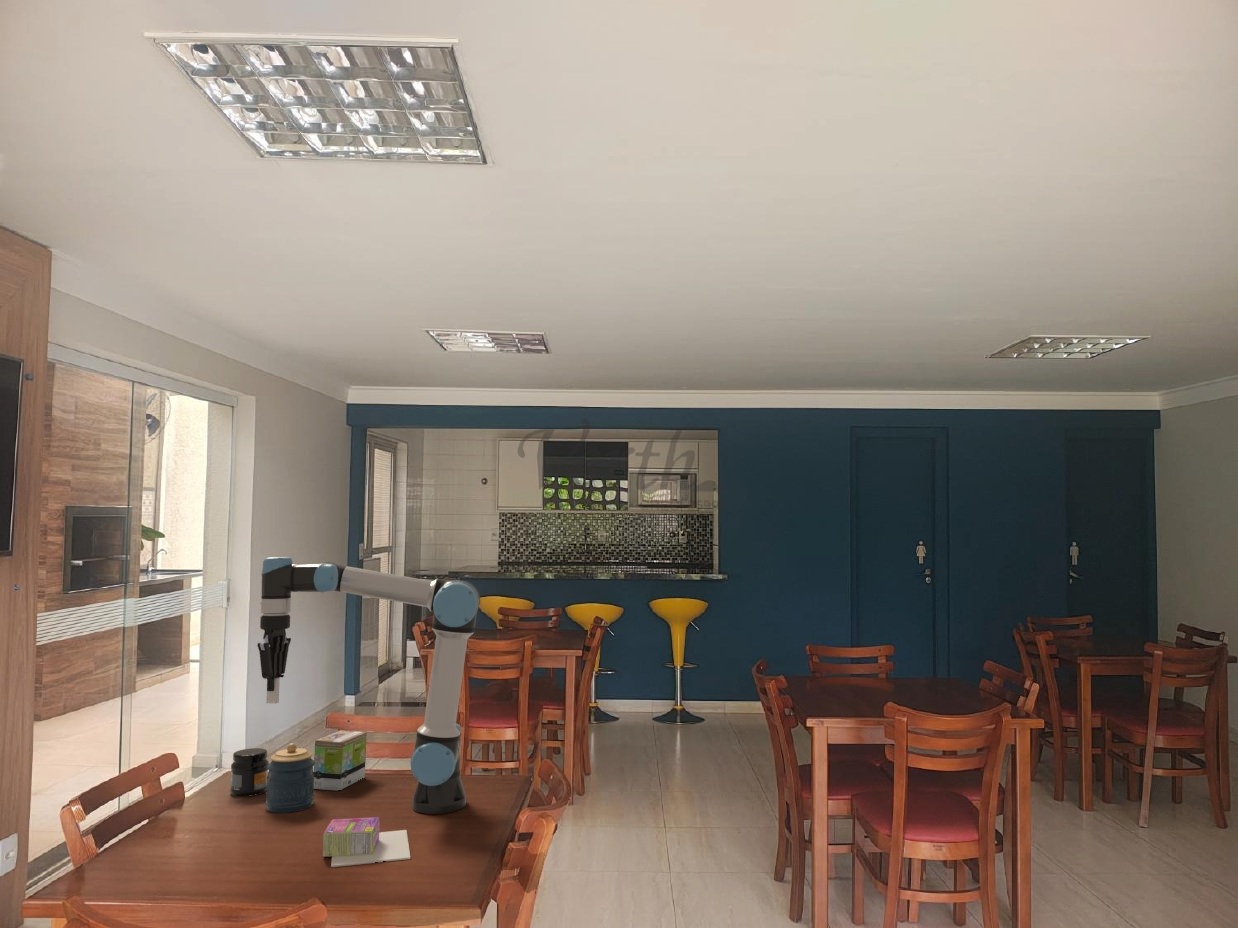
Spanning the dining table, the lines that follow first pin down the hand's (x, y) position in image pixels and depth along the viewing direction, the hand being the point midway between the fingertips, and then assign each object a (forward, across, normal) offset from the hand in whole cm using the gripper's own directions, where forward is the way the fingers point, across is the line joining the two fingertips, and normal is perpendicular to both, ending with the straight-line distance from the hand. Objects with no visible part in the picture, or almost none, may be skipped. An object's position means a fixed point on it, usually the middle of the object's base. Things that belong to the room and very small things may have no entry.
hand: (272, 702), depth 228 cm
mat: (+32, +11, +34) cm, 48 cm away
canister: (+33, -17, -4) cm, 37 cm away
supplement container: (+33, -28, -23) cm, 49 cm away
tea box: (+33, -41, 0) cm, 52 cm away
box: (+29, +14, +24) cm, 40 cm away
